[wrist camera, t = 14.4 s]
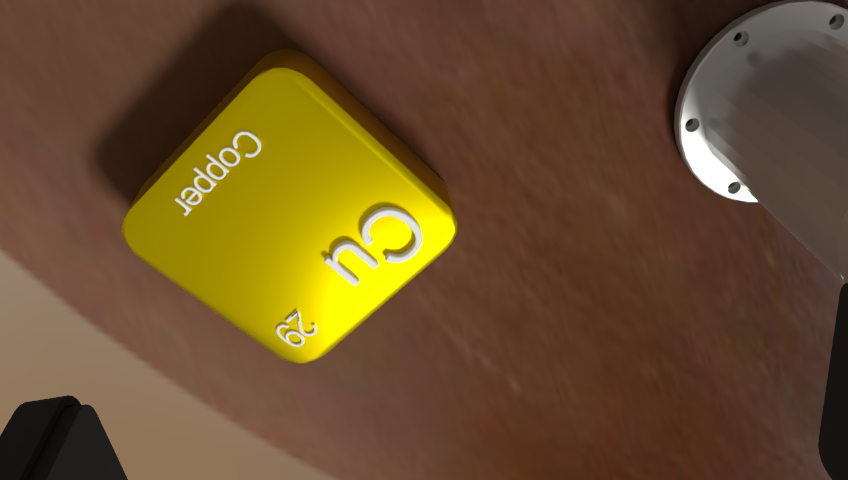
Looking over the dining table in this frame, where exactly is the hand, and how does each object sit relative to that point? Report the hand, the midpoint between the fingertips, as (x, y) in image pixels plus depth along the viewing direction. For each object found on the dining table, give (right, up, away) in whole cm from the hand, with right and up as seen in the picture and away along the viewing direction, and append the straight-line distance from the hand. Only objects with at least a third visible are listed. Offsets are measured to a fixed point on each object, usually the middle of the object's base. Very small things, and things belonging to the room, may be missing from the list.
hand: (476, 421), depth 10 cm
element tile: (-9, +5, +39) cm, 40 cm away
